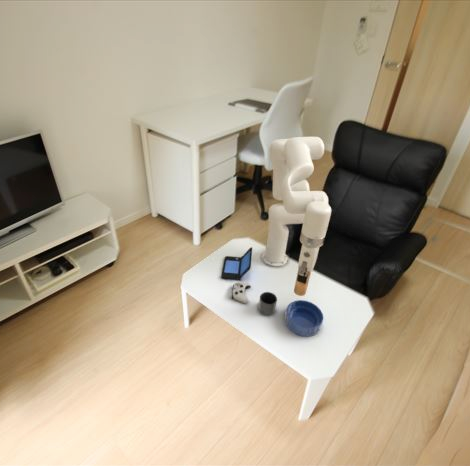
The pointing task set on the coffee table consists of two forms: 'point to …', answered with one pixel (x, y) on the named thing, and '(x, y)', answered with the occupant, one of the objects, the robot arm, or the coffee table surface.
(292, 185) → the robot arm
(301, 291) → the dowel
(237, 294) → the gaming controller
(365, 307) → the coffee table surface
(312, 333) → the bowl
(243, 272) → the game console
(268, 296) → the cup
